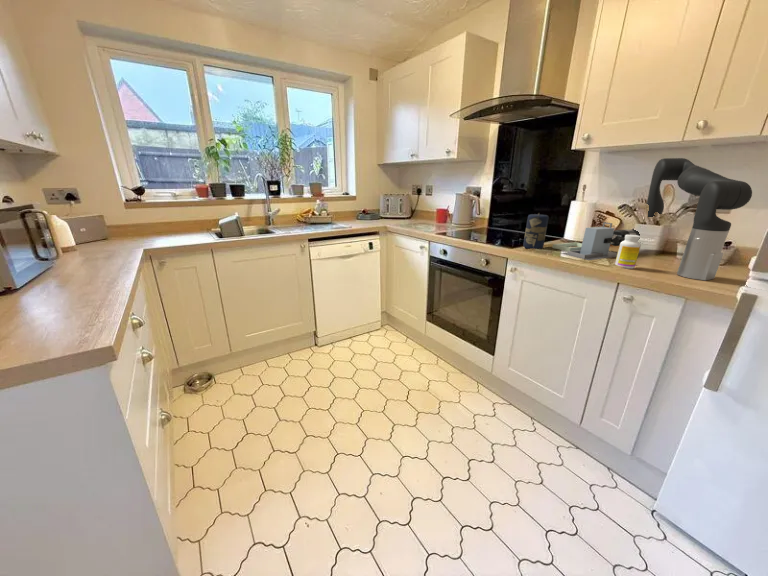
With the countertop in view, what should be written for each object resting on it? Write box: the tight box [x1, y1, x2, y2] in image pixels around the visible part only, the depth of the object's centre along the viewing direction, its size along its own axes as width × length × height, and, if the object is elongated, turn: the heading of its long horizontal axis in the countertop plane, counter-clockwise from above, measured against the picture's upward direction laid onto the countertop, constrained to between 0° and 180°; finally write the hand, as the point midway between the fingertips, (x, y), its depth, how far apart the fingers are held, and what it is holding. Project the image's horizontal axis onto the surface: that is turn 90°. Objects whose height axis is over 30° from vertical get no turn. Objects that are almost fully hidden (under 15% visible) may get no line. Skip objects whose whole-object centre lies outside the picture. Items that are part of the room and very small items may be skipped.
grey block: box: [580, 222, 615, 255], centre depth 142 cm, size 5×12×14 cm, turn 113°
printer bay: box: [560, 250, 618, 261], centre depth 144 cm, size 14×27×2 cm, turn 112°
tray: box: [552, 241, 582, 252], centre depth 156 cm, size 10×17×2 cm, turn 112°
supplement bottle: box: [614, 235, 642, 270], centre depth 124 cm, size 7×7×13 cm
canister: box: [522, 212, 550, 250], centre depth 157 cm, size 10×10×18 cm
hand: (598, 239), depth 142 cm, fingers closed on grey block, 5 cm apart
